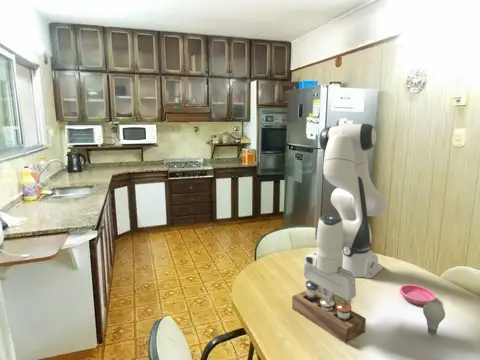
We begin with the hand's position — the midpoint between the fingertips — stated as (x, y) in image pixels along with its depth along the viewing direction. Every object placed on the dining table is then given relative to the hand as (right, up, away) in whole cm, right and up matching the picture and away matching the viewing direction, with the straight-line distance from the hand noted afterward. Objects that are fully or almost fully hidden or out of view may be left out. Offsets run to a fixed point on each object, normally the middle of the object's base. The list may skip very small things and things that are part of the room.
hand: (327, 299), depth 111 cm
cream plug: (0, -7, +1) cm, 7 cm away
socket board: (0, -7, +1) cm, 8 cm away
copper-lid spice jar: (+4, -6, -5) cm, 9 cm away
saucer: (+39, -5, +14) cm, 42 cm away
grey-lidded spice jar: (-4, -2, +6) cm, 8 cm away
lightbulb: (+32, -9, -7) cm, 34 cm away
